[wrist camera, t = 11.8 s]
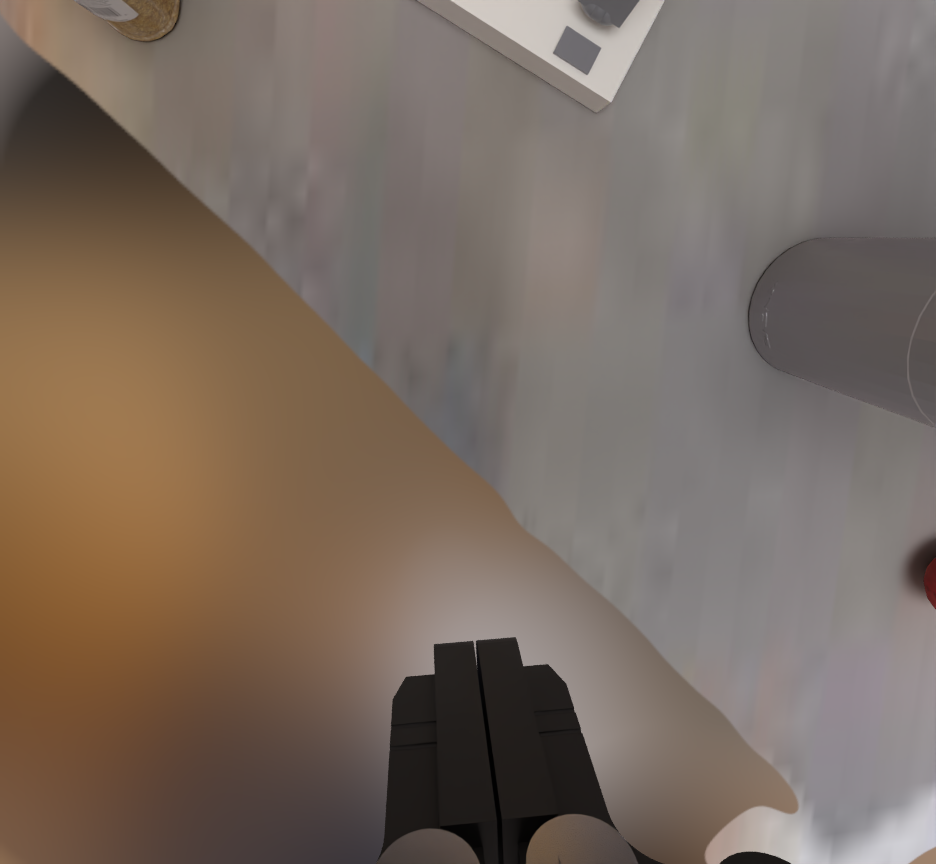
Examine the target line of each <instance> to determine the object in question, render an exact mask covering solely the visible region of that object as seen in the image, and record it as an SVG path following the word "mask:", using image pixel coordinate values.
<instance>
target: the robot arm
mask: <svg viewBox="0 0 936 864" xmlns="http://www.w3.org/2000/svg"><path fill="white" fill-rule="evenodd" d="M749 328H750V332H751V337H752V340H753V342H754V344H755V347H756V349H757V351H758V352H759V353H760V355H761V356H762V357H763V358H764V359H765V361H767V362H768V363H769V364H771V365H772V366H773V367H775V368H777V369H779V370H782V371H784V372H787V373H789V374H792V375H794V376H797V377H800V378H802V379H805V380H808V381H810V382H813V383H815V384H818V385H821V386H823V387H826V388H829V389H831V390H834V391H837V392H840V393H842V394H845V395H848V396H850V397H853V398H856V399H859V400H861V401H864V402H867V403H869V404H872V405H875V406H878V407H880V408H883V409H886V410H888V411H891V412H894V413H897V414H899V415H902V416H905V417H907V418H910V419H913V420H916V421H918V422H921V423H924V424H926V425H929V426H932V427H935V428H936V238H817V239H813V240H809V241H806V242H802V243H800V244H798V245H796V246H794V247H792V248H790V249H789V250H787V251H786V252H785V253H783V254H782V255H781V256H779V257H778V258H777V259H776V260H775V261H774V262H773V263H772V264H771V265H770V267H769V268H768V269H767V270H766V271H765V273H764V274H763V276H762V278H761V279H760V281H759V282H758V284H757V287H756V289H755V292H754V294H753V297H752V301H751V306H750V311H749ZM476 654H477V665H476V657H475V650H474V643H473V641H467V642H456V643H443V644H434V664H435V674H434V675H422V676H410V677H406V678H405V679H404V681H403V683H402V685H401V686H400V688H399V690H398V691H397V693H396V695H395V696H394V698H393V704H392V721H391V737H390V754H389V770H388V788H387V803H386V820H385V836H384V843H383V847H382V851H381V854H380V856H379V858H378V860H377V863H376V864H662V863H660V862H658V861H655V860H653V859H651V858H649V857H647V856H645V855H644V854H642V853H641V852H639V851H638V850H637V849H635V848H634V847H633V846H631V845H630V844H629V843H628V842H627V841H626V840H625V839H624V837H622V835H621V834H620V833H619V832H618V830H617V829H616V827H615V826H614V824H613V822H612V820H611V818H610V816H609V813H608V811H607V807H606V804H605V801H604V798H603V795H602V792H601V789H600V786H599V783H598V780H597V777H596V774H595V771H594V767H593V764H592V762H591V759H590V755H589V752H588V749H587V746H586V743H585V740H584V737H583V734H582V733H581V728H580V725H579V722H578V718H577V716H576V713H575V712H574V706H573V703H572V700H571V697H570V694H569V691H568V688H567V685H566V683H565V682H564V681H563V680H562V679H561V678H560V677H559V676H558V675H557V674H556V672H555V671H554V670H553V669H552V668H551V667H550V666H549V665H548V664H546V665H534V666H523V664H522V660H521V655H520V651H519V647H518V643H517V640H516V638H515V637H513V638H501V639H489V640H477V641H476ZM720 864H791V863H789V862H787V861H785V860H783V859H781V858H778V857H776V856H773V855H769V854H766V853H760V852H741V853H736V854H734V855H731V856H729V857H727V858H726V859H724V860H723V861H722V862H721V863H720Z"/></svg>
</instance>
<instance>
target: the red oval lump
mask: <svg viewBox="0 0 936 864" xmlns="http://www.w3.org/2000/svg"><path fill="white" fill-rule="evenodd" d="M924 586H925V591H926V595H927V598H928V600H929V601H930V602H931V604H932V605H933V607H934V608H935V609H936V558H934V559H933V560H932V562H931V563H930V564H929V565H928V566H927V569H926V572H925V575H924Z"/></svg>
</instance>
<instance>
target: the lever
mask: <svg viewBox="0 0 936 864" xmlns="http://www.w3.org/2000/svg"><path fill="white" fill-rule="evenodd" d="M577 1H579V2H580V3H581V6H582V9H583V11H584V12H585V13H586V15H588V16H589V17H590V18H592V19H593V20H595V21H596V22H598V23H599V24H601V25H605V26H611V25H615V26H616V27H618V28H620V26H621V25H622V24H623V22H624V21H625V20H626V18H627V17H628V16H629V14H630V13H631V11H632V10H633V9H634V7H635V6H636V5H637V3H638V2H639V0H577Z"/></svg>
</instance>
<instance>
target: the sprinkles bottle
mask: <svg viewBox="0 0 936 864" xmlns="http://www.w3.org/2000/svg"><path fill="white" fill-rule="evenodd" d="M74 1H75V2H77V3H78V4H80V5H81V6H83V7H84V8H86V9H87V10H89V11H90V12H92V13H93V14H95V15H96V16H98V17H100V18H103V19H105V20H106V21H107V22H108V23H109V24H110V25H111V26H112V27H113V28H114V29H115V30H117V31H118V32H119V33H121V34H123V35H125V36H126V37H128V38H130V39H134V40H140V41H151V40H156V39H158V38H161V37H162V36H164V35H165V34H167V33H168V32H169V31H170V30H172V28H173V27H174V24H175V23H176V21H177V17H178V14H179V5H180V0H74Z"/></svg>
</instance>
